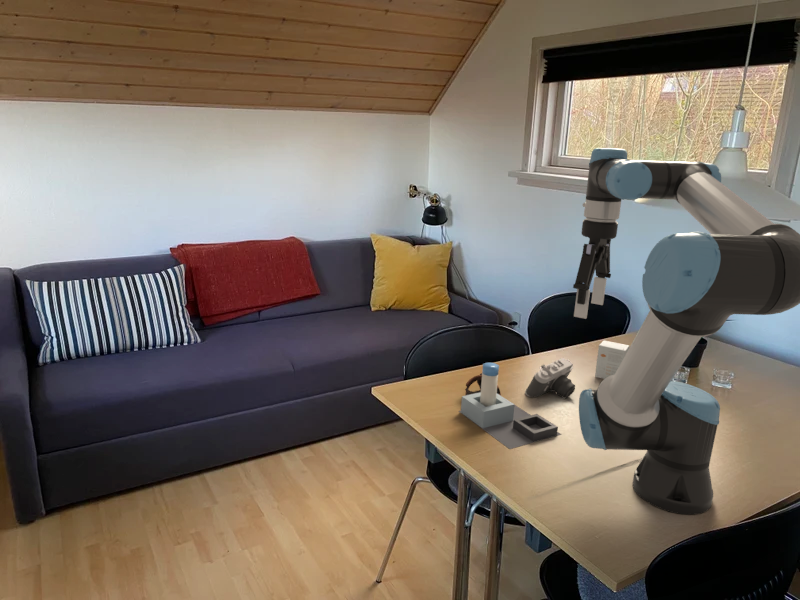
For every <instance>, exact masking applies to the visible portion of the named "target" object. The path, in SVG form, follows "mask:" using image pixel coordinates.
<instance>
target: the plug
mask: <svg viewBox="0 0 800 600" xmlns="http://www.w3.org/2000/svg"><path fill="white" fill-rule="evenodd" d="M499 369H500V365H499V364H497V363H495V362H485V363H482V382H481V389H480V390H481V395H480V403H481V404H482V405H484V406H485V407H487V406H491V405H496V395H497V385H498V382H499V380H498V379H499V372H500V371H499Z"/></svg>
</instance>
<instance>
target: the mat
mask: <svg viewBox="0 0 800 600" xmlns="http://www.w3.org/2000/svg"><path fill="white" fill-rule="evenodd" d="M458 413H460V414H462V416H464V417H466V418H467V419H468V420H469V421H471V422H472V423H474V425H476V426H477V427H479V428H480V429H482V430H483V431H484V432H486V433H487V434H488V435H489V436H491V437H493V438H494V439H495V440H497V442H499V443H500V444H502V445H503V446H505V447H506V448H507V449H509V450H512V449H515V448H519V447H523V446H526V445H529V444H534V443H537V442H540V441H543V440H547V439H551V438H554V437H558V436H561V435H562V433H560V432H559V431H557V435H555V436H552V437H548V438H545V439H541V440H538V441H534V442H533V441H531V440H530V439H528V438H527V437H526V436H524V435H523V434H521V433H520V432H518V431H517V430H515V429H514V428H513V422H514V420H515V419H519V418H523V417H526V416H530V415H531V414H530V413H528V412H527V411H525V410H524V409H522V408H520V407H519V406H518V405H516V404H515V405H514V416H513V421H509V422H505V423H502V424H498V425H494V426H490V427H486V428H482V427H480V426H479V425H478V424H476V423H475V422H473V421H472V420H471V419H469V418H468V417H467V416H465V415H464V414H463V413H461V410H458ZM528 427H530V428H531V429H533V430H534V431H535V430H539V429H542V428H541V427H539V426H538V425H536V424H535V425H531V426H528Z"/></svg>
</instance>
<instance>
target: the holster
mask: <svg viewBox="0 0 800 600" xmlns="http://www.w3.org/2000/svg"><path fill="white" fill-rule="evenodd" d="M535 424H536V425H538V426H539V427H541V428H542V429H539V430H535V431H534V430H533V429H531V428H530V427H528V426H531V425H535ZM513 428H514V429H515V430H517V431H518V432H520V433H521V434H523V435H524V436H526V437H527V438H528V439H530V440H531V441H533V442H534V441H537V442H539V441H538V440H541V439H544V440H546V439H545V438H548V437H551V438H553V437H552V436H555V435H557V432H559V430H558V429H559V426H557V425H556V424H554V423H553V422H551V421H550V420H547V418H545V417H544V416H541V415H540V414H538V413H535V414H530V416H526V417H523V418H519V419H515V420H514V422H513ZM555 437H556V436H555ZM548 439H549V438H548ZM541 441H542V440H541ZM534 443H535V442H534Z"/></svg>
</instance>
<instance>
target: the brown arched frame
mask: <svg viewBox="0 0 800 600" xmlns="http://www.w3.org/2000/svg"><path fill="white" fill-rule="evenodd" d="M475 382H476V383H477V385H478V387H479V390H477V391H472V390H469V388H470V387H471V386H472V385H473V384H474V383H475ZM481 382H482V373H480V374H479V375H475V376H473V377H470V378H469V380H468V381H467V382H466V383H465V389H464V390H465V392H464V393H465V395H464V396H466V395H470V394H475V393H479V392H481ZM497 394H499V395H501V396H502V393H501V389H500V387H499V385H498V384H497Z"/></svg>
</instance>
